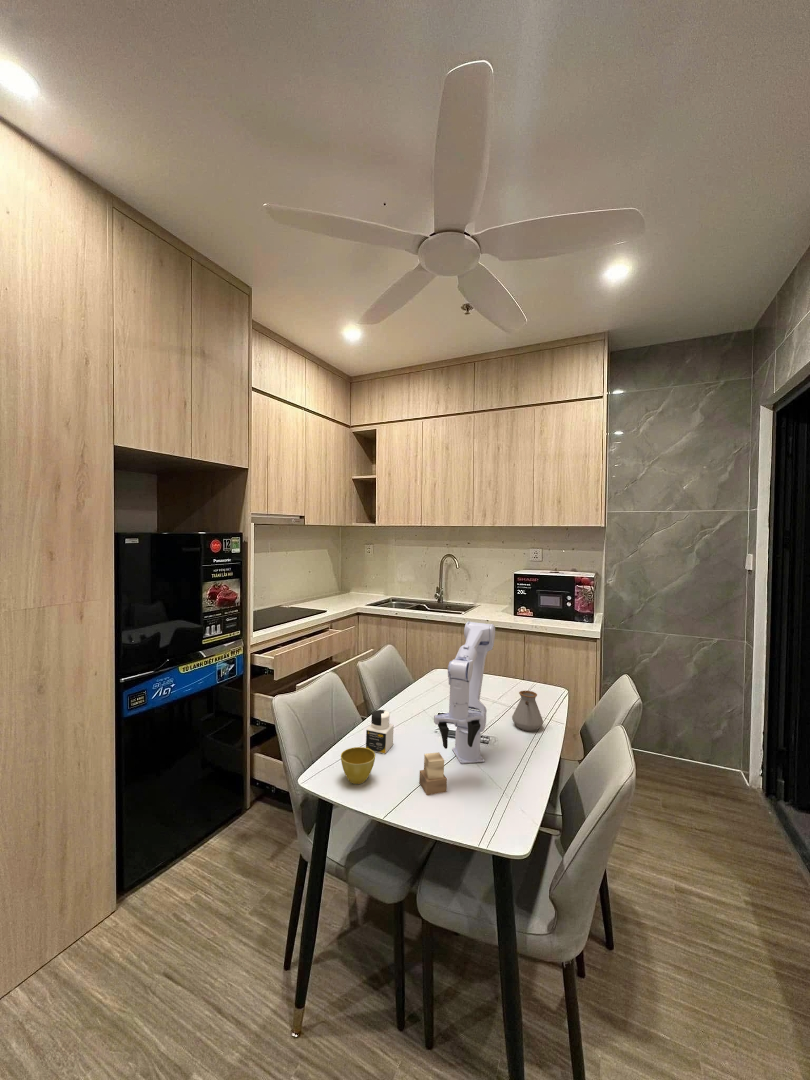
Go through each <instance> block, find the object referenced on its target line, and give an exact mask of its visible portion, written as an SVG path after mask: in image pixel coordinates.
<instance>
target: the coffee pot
mask: <svg viewBox="0 0 810 1080" xmlns="http://www.w3.org/2000/svg"><path fill="white" fill-rule="evenodd" d="M518 694H519V695H520V700H519V701H518V704H517V706H516V707H515V710H514V712H513V714H512V716H511V718H512V721H513V723H514V724H515V726H516V727H517V728H518V729H520V730H523V731H524V732H525V731H526V732H535V731H537V730H538V729H540V728H541V727H542V726H543V724H544V720H543V717H542V715H541V712H540V709H539V706H538V703H537V701H536V698H537V697H538V694H537V693H536V692H535V691H531V690H521V691H518Z"/></svg>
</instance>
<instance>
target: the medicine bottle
mask: <svg viewBox="0 0 810 1080" xmlns="http://www.w3.org/2000/svg"><path fill="white" fill-rule="evenodd" d="M370 723H371V724H370V725H369V726H368V727H367V728H366V734H365V735H366V736H365V748H368V749H370V750H372V751H373V752H374V753H378V754H383V755H385V754H387V753H388V751H389V750H390V749H391V748H392V746H393V745H394V724H393V723H390V712H389V711H387V710H384V709H377V710H374V711H373V712H372V713H371V722H370Z"/></svg>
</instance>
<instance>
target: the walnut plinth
mask: <svg viewBox="0 0 810 1080" xmlns="http://www.w3.org/2000/svg"><path fill="white" fill-rule="evenodd" d="M418 777H419V778H418V783H419V785H420V787H421V789H422V790H423V792H424V793H425V796H431V795H436V794H442V793H447V792H448V791H447V789H448V786H447V785H448V777H446V775H445V774H444V778H437V779H428V778H427V776H426V774H425V772H424V769H421V770H419V776H418Z"/></svg>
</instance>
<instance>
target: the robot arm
mask: <svg viewBox="0 0 810 1080" xmlns="http://www.w3.org/2000/svg"><path fill="white" fill-rule="evenodd" d="M463 633H464V634H463V635H464V639H465V643H464V644H463V645H461V646H460V647H459V649H458V651H457V653H456V655H455V658H453V659H452V660H450V661H449V662H448V665H447V677H448V685H449V703H448V712H445V713H442V714H435V715H433V723H434V724H435V725H437V727H438V730H439V732H440V736H441V739H442V746H443V748H444V750H445V749H446V750H447V749H448V745H449V743H448V737H449V730H450V729H449V726H448V724H451V723H453V725H454V727H455V728H456V729H455V737H454V747H452V748H451V749H452V751H453V753H454V754H455V757H456V758H457V759H458V760H457V761H459V763H460V764H473V763H484V762H485V759H484V757H483V756H482V755H481V734H482V733H483V732H484V731H485V729H486V725H487V708H486V706H485V705H484V704H483V703H482V702H481V700H480V699H481V694H482V693H481V691H482V685H483V679H484V672H485V664H486V658H487V655H488V652H489V651H492V650H493V649H494V645H495V638H496V626H495V625H494V623H484V622H477V621H475V622H474V621H470V620H467V622H466V623H465V625H464V629H463Z"/></svg>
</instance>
